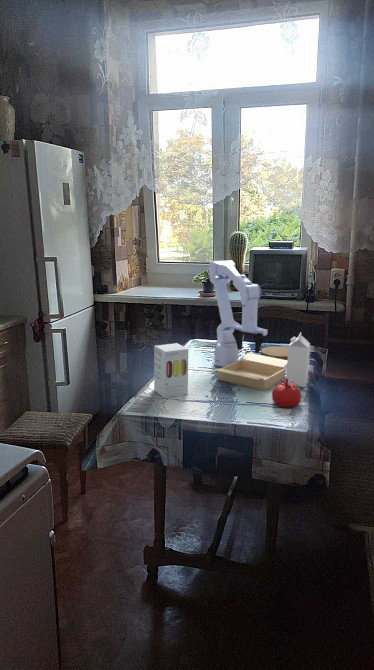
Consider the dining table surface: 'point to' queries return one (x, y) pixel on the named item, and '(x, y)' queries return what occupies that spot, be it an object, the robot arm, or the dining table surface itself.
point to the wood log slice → (275, 352)
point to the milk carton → (298, 361)
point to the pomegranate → (286, 395)
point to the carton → (260, 370)
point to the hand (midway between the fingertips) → (248, 350)
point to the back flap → (265, 360)
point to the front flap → (238, 374)
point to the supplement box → (171, 370)
